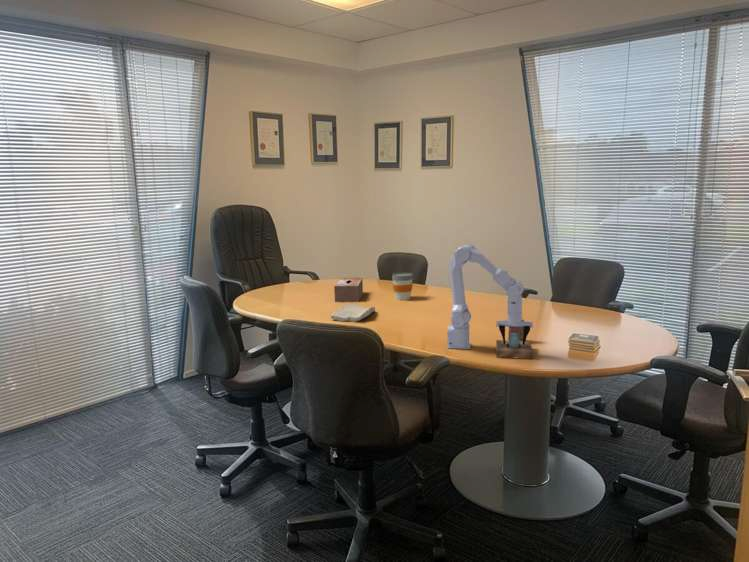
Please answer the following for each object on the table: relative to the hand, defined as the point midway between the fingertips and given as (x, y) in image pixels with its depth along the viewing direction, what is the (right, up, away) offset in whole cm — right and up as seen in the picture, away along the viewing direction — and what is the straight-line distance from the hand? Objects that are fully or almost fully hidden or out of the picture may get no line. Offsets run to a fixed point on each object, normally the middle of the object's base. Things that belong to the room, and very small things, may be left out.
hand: (513, 343), depth 223 cm
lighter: (+6, -1, +17) cm, 18 cm away
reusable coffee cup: (-40, +15, +106) cm, 114 cm away
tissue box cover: (-73, +15, +114) cm, 137 cm away
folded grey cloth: (-67, +6, +67) cm, 95 cm away
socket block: (0, -4, +1) cm, 4 cm away
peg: (0, -4, 0) cm, 4 cm away
